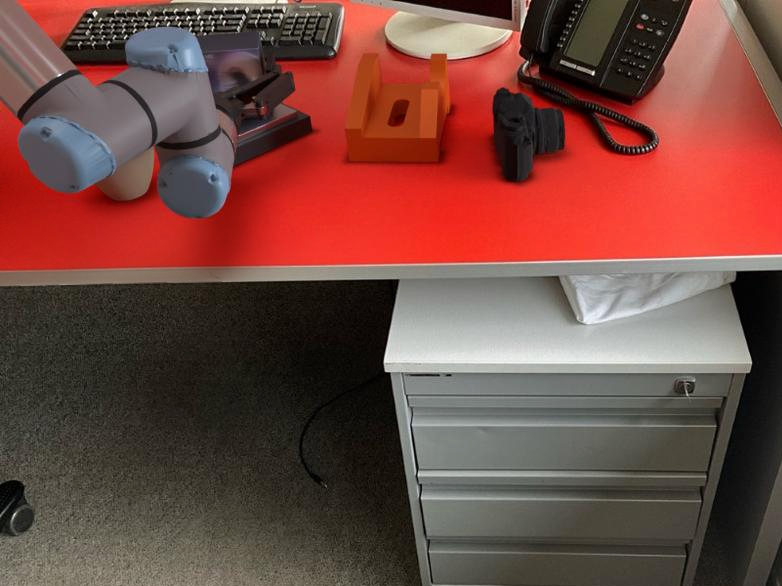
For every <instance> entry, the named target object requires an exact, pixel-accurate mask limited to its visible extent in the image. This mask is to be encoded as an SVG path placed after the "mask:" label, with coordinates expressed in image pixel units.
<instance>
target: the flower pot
mask: <svg viewBox="0 0 782 586" xmlns="http://www.w3.org/2000/svg"><path fill="white" fill-rule="evenodd" d="M154 165H155V147H154V146H153V147H151V148H149V149H148V150H146V151H145V152H143V153H141V154H140V155H138V156H137V157H135V158H134V159H132V160H131V161H129V162H128V163H126V164H125V165H123V166H122V167H120V168H119V169H117V170H116V171H115V172H114V173H113V174H112V175H111V176H110V177H106V178H105V179H103V180H100V181H98V182H97V183H95V184H94V186H96V187H97V188H98V189H99V190H100V191H101V192H102V193H104V194H105V195H106V196H108V197H109V198H110V199H112V200H114V201H118V202H119V201H121V202H122V201H123V202H125V201H132V200H134V199H137V198H138V199H139V198H140V197H142V196H143V195H145V194H146V193H147V191H148V190H149V187H150V184H151V181H152V177H153V173H154Z"/></svg>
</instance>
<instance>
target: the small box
mask: <svg viewBox="0 0 782 586" xmlns="http://www.w3.org/2000/svg"><path fill="white" fill-rule="evenodd" d="M261 35H262V34H261V32H260V31H259V30H257V31H242V32H230V33H228V32H227V33H215V34H202V35H201V34H200V35H199V34H198V35H194V36H195V37H196V38H197V40H198V43H199V46H200V49H201V50H202V54H203V57H204V61H205V64H206V66H207V68H208V77H209V81H210V85H211V89H212V93H218V92H220V91H222V92H224V91H226V90H228V89H230V88H232V87H234V86H238V87H242V86H244V85H246V84H248V83H250V82H252V81H254V80H256V79H258V78H260V77H262V76H264V75H266V71H265V68H266V58H265V54H264V49H263V43H262V36H261ZM234 97H235V96H234ZM235 98H236V97H235ZM268 117H272V111H271V112H270V113H269V115H268ZM250 118H258V116H256V115H255V114H254V115H246V117H245V118H244V119H250Z"/></svg>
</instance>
